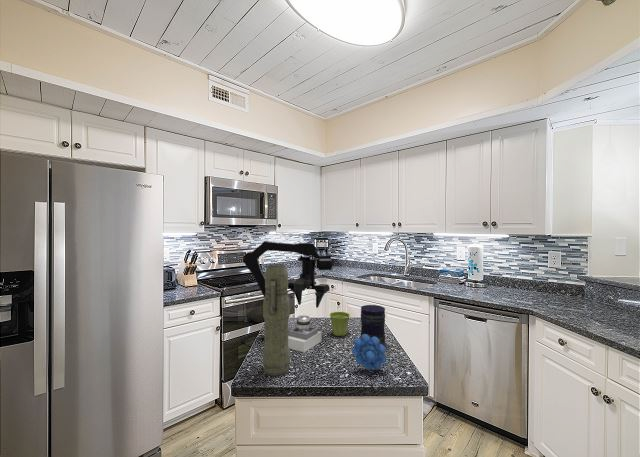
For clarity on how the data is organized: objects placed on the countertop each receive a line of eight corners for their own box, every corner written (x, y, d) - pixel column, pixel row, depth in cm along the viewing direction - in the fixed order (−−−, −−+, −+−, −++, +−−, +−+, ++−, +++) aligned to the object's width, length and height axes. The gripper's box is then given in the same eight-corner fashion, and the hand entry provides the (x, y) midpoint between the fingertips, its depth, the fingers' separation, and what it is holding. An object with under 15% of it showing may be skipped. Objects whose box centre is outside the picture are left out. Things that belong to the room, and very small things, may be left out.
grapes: (352, 376, 91) (352, 338, 91) (351, 366, 98) (351, 331, 98) (389, 377, 90) (389, 339, 90) (385, 367, 97) (385, 331, 97)
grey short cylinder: (293, 335, 115) (293, 318, 115) (301, 331, 120) (301, 314, 120) (305, 337, 113) (305, 320, 113) (312, 333, 117) (312, 316, 117)
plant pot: (353, 332, 130) (353, 313, 130) (344, 339, 122) (344, 319, 122) (335, 328, 135) (335, 310, 135) (325, 335, 127) (325, 315, 127)
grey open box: (284, 347, 113) (284, 332, 113) (303, 336, 124) (303, 323, 124) (304, 352, 108) (304, 336, 108) (321, 341, 120) (321, 326, 120)
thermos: (290, 360, 102) (291, 262, 102) (288, 378, 90) (288, 266, 90) (265, 361, 101) (266, 262, 102) (260, 378, 90) (260, 267, 90)
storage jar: (365, 338, 123) (365, 303, 123) (388, 342, 118) (388, 306, 118) (356, 346, 114) (356, 309, 114) (380, 351, 109) (380, 312, 109)
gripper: (280, 271, 124) (280, 307, 124) (317, 275, 114) (316, 314, 114) (295, 268, 133) (295, 301, 133) (330, 271, 124) (330, 307, 124)
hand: (308, 306), depth 126 cm, fingers open, 9 cm apart
